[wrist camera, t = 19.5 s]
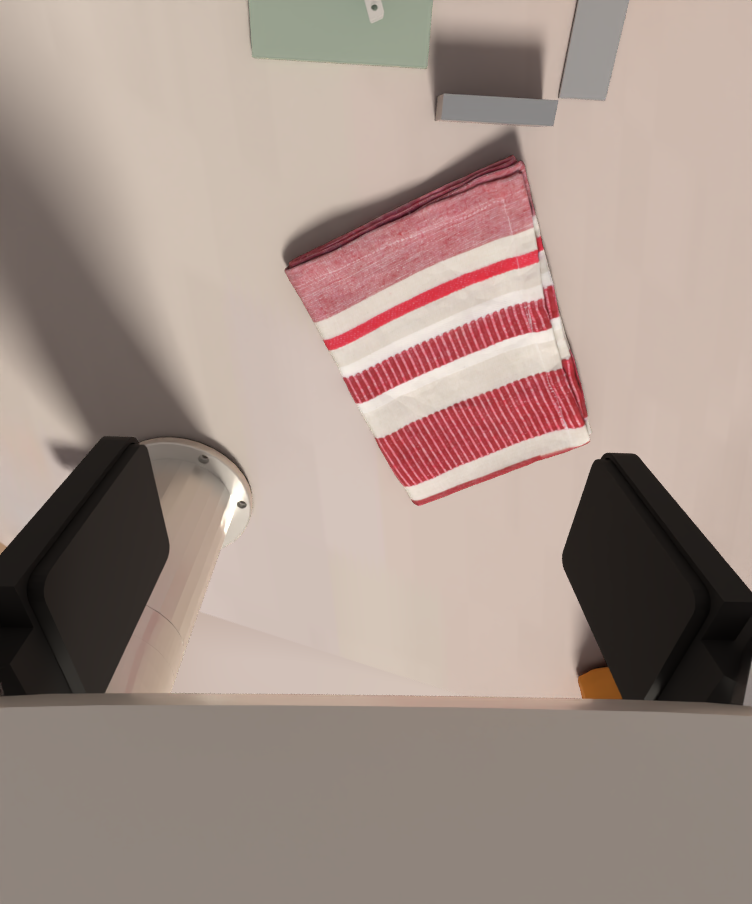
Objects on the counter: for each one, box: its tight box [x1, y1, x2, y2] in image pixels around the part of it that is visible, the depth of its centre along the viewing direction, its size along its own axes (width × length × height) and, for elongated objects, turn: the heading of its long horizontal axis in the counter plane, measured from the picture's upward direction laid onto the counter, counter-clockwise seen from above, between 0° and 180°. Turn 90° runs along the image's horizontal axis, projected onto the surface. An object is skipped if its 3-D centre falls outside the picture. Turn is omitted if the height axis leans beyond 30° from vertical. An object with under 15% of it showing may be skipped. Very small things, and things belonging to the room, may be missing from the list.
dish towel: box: [285, 155, 592, 506], centre depth 39 cm, size 17×23×3 cm
